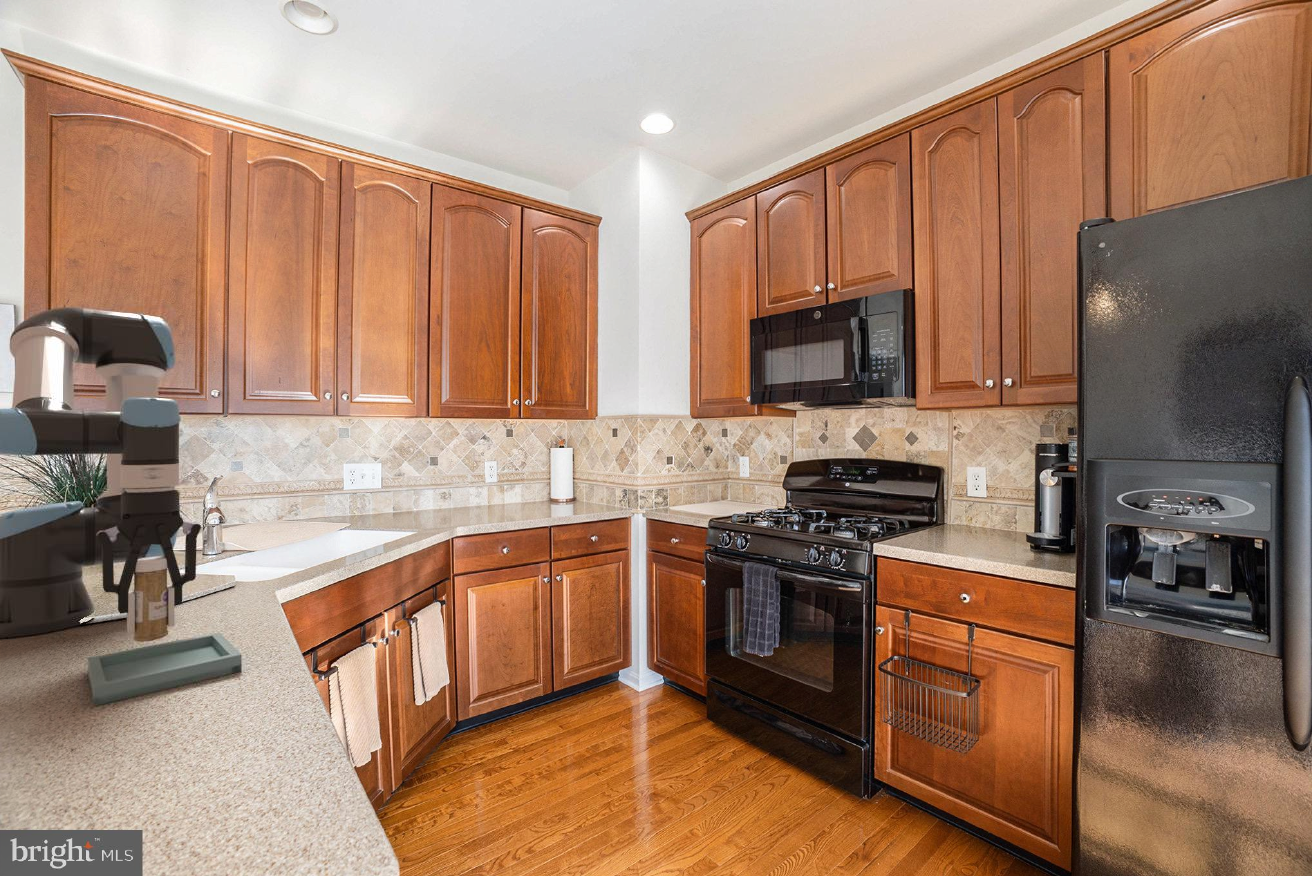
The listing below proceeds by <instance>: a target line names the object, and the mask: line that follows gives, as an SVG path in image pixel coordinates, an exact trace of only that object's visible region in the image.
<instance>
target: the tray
mask: <svg viewBox="0 0 1312 876" xmlns="http://www.w3.org/2000/svg"><path fill="white" fill-rule="evenodd" d="M242 656H243V655H242V653H241V652H240V651H239V650H238V649H237V648H236V647H235V646H234V645H233V644H232V643H231V642H229V640H228V639H227V638H226V637H225V636H224V634H223V635H222V633H221V632H214V633H209V634H203V635H199V636H194V637H189V638H183V639H177V640H173V641H169V642H164V643H163V642H162V643H158V644H154V645H148V646H142V647H137V648H132V649H127V650H122V651H118V652H110V653H107V654H102V655H97V656H96V655H95V656H92V657H87V678H88V683H89V688H90V694H91V700H92V703H93V704H92V705H93V707H98V706H102V705H106V704H111V703H113V702H119V701H123V700H126V699H130V698H135V697H139V696H142V695H149V694H152V693H156V692H160V691H165V690H169V689H172V688H174V689H175V688H177V687H182V686H185V685H189V684H194V683H199V682H202V681H207V680H210V679H211V680H212V679H216V678H219V677H223V676H227V675H232V674H237V673H240V672H242V670H243V669H242V667H243V666H242V663H243V662H242V659H243V657H242Z"/></svg>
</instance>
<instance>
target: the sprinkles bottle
mask: <svg viewBox="0 0 1312 876" xmlns="http://www.w3.org/2000/svg"><path fill="white" fill-rule="evenodd" d="M133 577H134V579H133V582H134V584H133V588H134V589H133V591H134V593H135V633H134V636H133V641H135V642H138V643H140V642H142V643H143V642H151V641H155V640H160V639H162V638H164V637H167V636H168V634H169V630H168V625H167V615H168V592H167V586H168V564H167V560H166V558H165V557H162V556H159V557H147V558H141V559H138V560H137V564H136V567H135V571H134V574H133Z"/></svg>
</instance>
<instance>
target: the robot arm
mask: <svg viewBox="0 0 1312 876" xmlns="http://www.w3.org/2000/svg"><path fill="white" fill-rule="evenodd" d="M9 352H10V353H11V356H12V357H13V358H14V360H15V369H14V371H15V372H14V380H13V381H14V382H13V383H14V384H13V395H12V405H11V408H0V455H2V456H3V455H5V456H6V455H8V456H13V455H15V456H26V457H32V456H51V455H53V456H54V455H56V456H57V455H58V456H61V455H106V484H107V485H106V490H105V491H104V492H103V493H102V494H100V495H99V496H98V497H97V498H96V506H95V507H85V506H84V504H83V502H82V501H80V500H77V501H76V500H74V501H73V500H72V501H65V502H58V503H57V502H56V503H50V504H49V503H48V504H41V505H36V506H30V507H24V508H18V509H14V510H10V511H6V512H4V513H2V514H1V515H0V639H6V637H8V638H18V637H26V636H33V635H40V634H45V633H51V631H52V632H55V631H60V630H65V629H71V628H73V627H77V626H80V625H81V624H80V622H79V621H80V620H81V619H83V618H84V617H87V616H89V615H91V614H92V613H94V611H95V609H96V607H95V604H94V603H93V600H92V598H91V596H90V594H89V592H88V589H87V588H86V585H85V584H84V581H83V567H90V566H91V567H92V566H100V565H101V567H102V570H101V571H102V572H101V573H102V588H103V591H104V592H105V593H113V594H117V610H118V612H119V614H120V615H122V614H126V631H127V634H128V635H129V634H130V635H132V634H135V593H134V590H130V587H131V586H132V585H131V584H132V580H133V577H134V571H135V567H136V564H137V560H138V559H141V558H147V557H159V556H162V557H165V558H166V560H167V564H168V568H167V572H168V574H169V578H170V580H171V584H169V585H168V584H167V592H168V615H167V628H169V627H174V626H175V606H176V605H181V604H182V602H183V586H184V585H185V584H186V583H189V582H193V581H195V579H196V577H197V538H198V535H199V533H200V531H201V528H202V525H201V524H200V523H198V522H189V521H184V518H183V517H182V516H181V511H180V509H181V504H180V491H179V489H176V487H178V486H180V459H179V458H180V457H179V456H180V449H179V448H180V422H181V417H180V407H179V406H180V405H179V403H178V401H176V400H174V399H171V398H159V382H160V381H161V380H163V379H165V378H166V376H167V371H169V370H172V369H174V368H175V364H176V357H175V356H176V355H175V344H174V339H173V335H172V331H171V328H170V325H169V324H168V323H167V321H166V320H164V319H163V318H161V317H158V316H152V315H146V314H143V313H137V314H136V313H131V312H130V313H129V312H118V311H110V310H101V309H93V308H84V307H76V306H70V307H69V306H66V307H57V308H51V309H47V310H44V311H41V312H38V313H36V314H34V315H31V316H29V317H27V318H26V319H25V320H23V321H22V322H20V323H19V324H18V325H17V326H16V327H15V328H14V330H13V331H12V333H11V335H10V337H9ZM74 363H75V364H84V365H85V364H88V365H95V373H96V374H97V375H98V376H99V377H101V378H102V379H104V381H105V410H87V409H86V410H85V409H83V410H81V409H80V410H79V409H75V395H74V393H75V392H74V391H75V390H74V389H75V388H74ZM181 528H182V533H183V534H185V541H184V542H185V545H184V547H185V549H184V551H185V553H184V555H185V556H184V574H182V575H181V572H180V569H179V564H178V562H177V558H176V555H175V551H174V548H175V546H176V541H177V538H178V533H179V530H180V529H181ZM118 563H119V564H120V563H124V565H123V567H122V568H123V570H122V572H121V575H120V579H119V583H115V578H114V577H115V573H114V564H118Z"/></svg>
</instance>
